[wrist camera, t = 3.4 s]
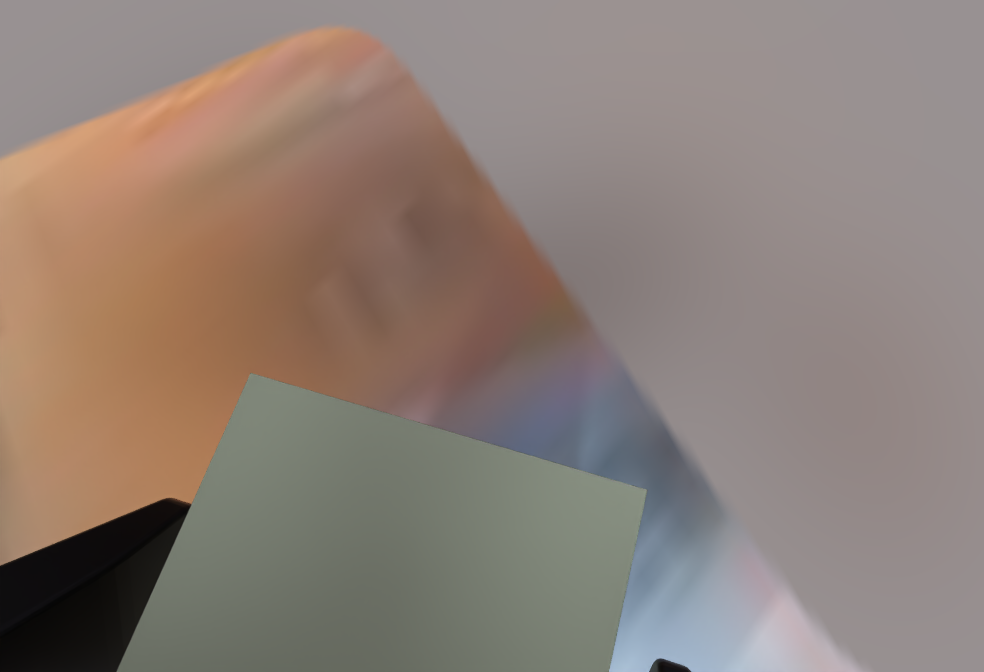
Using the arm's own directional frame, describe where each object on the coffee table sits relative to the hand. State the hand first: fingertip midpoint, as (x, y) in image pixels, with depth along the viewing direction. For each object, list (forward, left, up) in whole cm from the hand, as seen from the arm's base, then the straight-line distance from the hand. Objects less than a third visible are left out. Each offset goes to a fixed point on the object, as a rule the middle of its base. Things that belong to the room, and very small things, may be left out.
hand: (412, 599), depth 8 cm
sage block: (0, 0, -7) cm, 7 cm away
